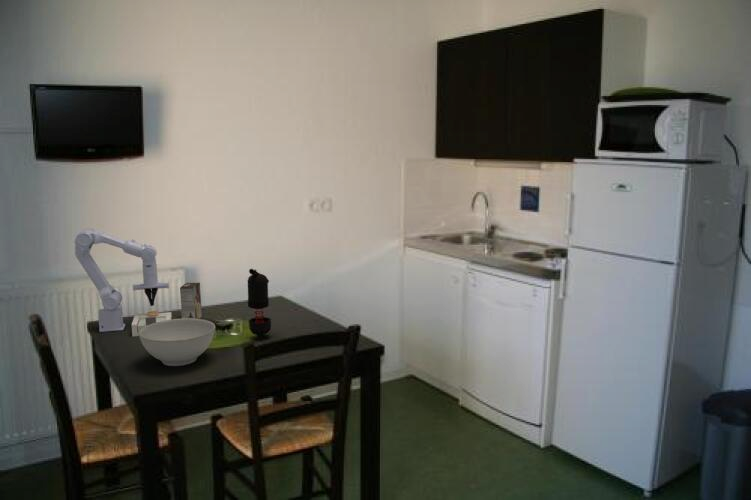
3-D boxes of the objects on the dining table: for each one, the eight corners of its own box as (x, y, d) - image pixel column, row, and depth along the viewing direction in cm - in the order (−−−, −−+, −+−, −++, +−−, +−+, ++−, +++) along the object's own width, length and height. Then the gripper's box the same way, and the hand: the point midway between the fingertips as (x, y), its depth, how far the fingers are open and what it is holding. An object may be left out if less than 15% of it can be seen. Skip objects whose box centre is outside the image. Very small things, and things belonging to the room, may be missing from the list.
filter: (263, 343, 250) (261, 270, 244) (243, 340, 253) (240, 268, 247) (279, 332, 262) (277, 263, 257) (260, 330, 265) (257, 261, 260)
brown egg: (147, 324, 268) (147, 314, 268) (148, 321, 273) (147, 311, 272) (158, 323, 270) (157, 313, 269) (159, 320, 274) (158, 310, 273)
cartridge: (138, 333, 258) (137, 319, 257) (140, 326, 267) (139, 312, 266) (164, 330, 261) (163, 317, 260) (165, 324, 270) (164, 310, 269)
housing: (132, 336, 258) (131, 324, 257) (135, 325, 272) (135, 314, 271) (170, 333, 262) (169, 321, 261) (172, 323, 276) (171, 312, 275)
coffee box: (188, 316, 286) (186, 282, 283) (202, 316, 286) (200, 282, 283) (181, 322, 277) (179, 287, 274) (196, 322, 277) (194, 287, 274)
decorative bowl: (189, 343, 250) (187, 314, 247) (231, 358, 233) (230, 327, 231) (126, 361, 229) (124, 330, 227) (167, 380, 213) (165, 346, 210)
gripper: (168, 271, 273) (170, 301, 275) (132, 273, 269) (135, 304, 271) (167, 275, 266) (169, 305, 269) (131, 277, 262) (133, 308, 265)
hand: (152, 305), depth 270 cm, fingers closed
